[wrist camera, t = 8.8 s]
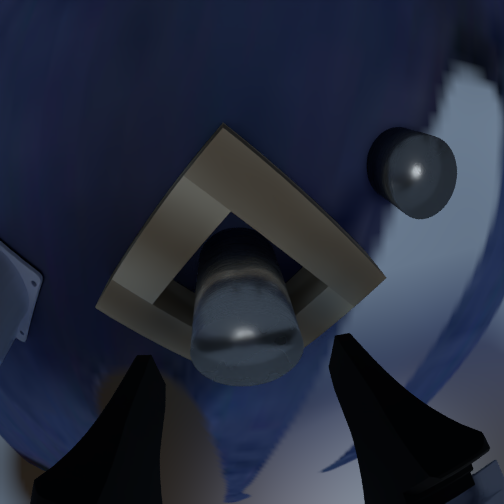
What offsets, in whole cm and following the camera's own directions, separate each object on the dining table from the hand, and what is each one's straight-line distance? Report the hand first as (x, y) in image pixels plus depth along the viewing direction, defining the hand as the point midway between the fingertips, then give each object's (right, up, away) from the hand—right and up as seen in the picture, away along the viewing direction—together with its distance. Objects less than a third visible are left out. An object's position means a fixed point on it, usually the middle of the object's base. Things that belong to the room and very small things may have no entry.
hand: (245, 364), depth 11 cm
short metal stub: (+9, +10, +4) cm, 14 cm away
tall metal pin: (-1, +4, +6) cm, 7 cm away
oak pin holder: (-1, +4, +6) cm, 7 cm away
